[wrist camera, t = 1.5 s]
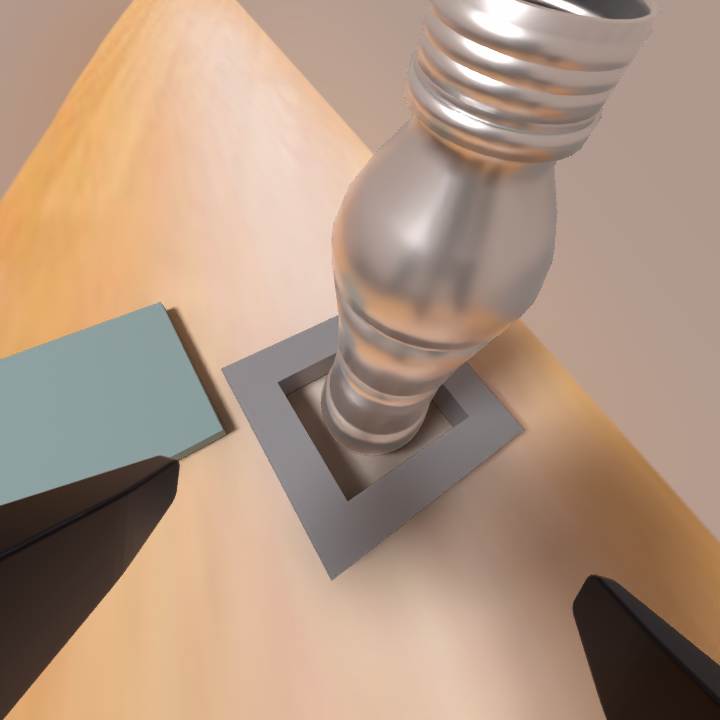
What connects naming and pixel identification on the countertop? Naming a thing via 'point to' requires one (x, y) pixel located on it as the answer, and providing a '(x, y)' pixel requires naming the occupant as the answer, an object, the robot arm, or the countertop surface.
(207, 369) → the countertop surface
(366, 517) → the pocket holder
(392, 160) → the plastic bottle
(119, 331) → the coaster
